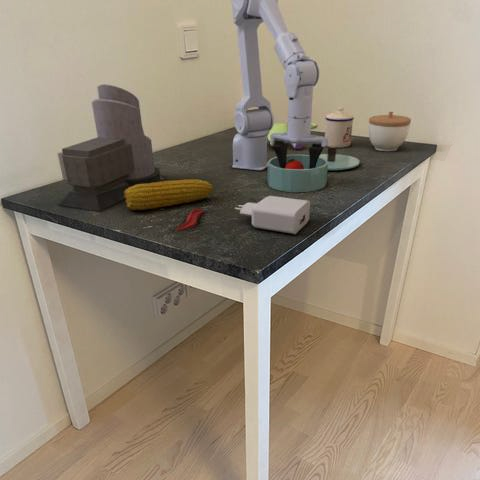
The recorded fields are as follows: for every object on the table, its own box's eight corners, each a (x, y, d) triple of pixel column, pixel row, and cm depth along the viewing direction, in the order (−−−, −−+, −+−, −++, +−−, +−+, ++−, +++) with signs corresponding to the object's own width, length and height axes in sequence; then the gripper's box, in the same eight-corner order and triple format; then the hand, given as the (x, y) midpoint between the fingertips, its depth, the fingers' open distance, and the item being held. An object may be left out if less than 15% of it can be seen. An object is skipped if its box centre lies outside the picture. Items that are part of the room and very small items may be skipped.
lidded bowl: (411, 146, 156) (417, 110, 150) (399, 155, 147) (405, 116, 142) (373, 142, 162) (377, 107, 156) (360, 150, 153) (364, 113, 147)
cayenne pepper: (183, 232, 99) (182, 223, 98) (166, 228, 101) (165, 219, 100) (216, 214, 107) (216, 206, 106) (199, 211, 109) (199, 203, 108)
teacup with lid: (347, 149, 155) (351, 110, 149) (320, 147, 158) (322, 109, 152) (355, 141, 165) (359, 104, 158) (329, 139, 168) (332, 103, 161)
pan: (258, 188, 122) (258, 166, 119) (280, 172, 134) (280, 152, 131) (315, 195, 117) (317, 172, 114) (333, 178, 128) (335, 157, 125)
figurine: (319, 136, 172) (321, 119, 169) (300, 153, 151) (301, 135, 148) (271, 133, 178) (271, 117, 175) (245, 150, 157) (245, 132, 154)
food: (131, 216, 107) (127, 190, 104) (124, 209, 111) (120, 183, 108) (216, 200, 115) (215, 175, 112) (207, 194, 119) (205, 169, 116)
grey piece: (126, 171, 138) (112, 77, 125) (174, 177, 132) (165, 78, 119) (53, 204, 115) (26, 92, 102) (107, 212, 109) (86, 95, 96)
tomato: (284, 185, 124) (278, 164, 122) (291, 181, 128) (285, 160, 126) (302, 180, 121) (296, 158, 120) (309, 176, 125) (303, 154, 124)
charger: (246, 211, 108) (309, 220, 102) (227, 225, 101) (293, 236, 95) (246, 190, 106) (310, 199, 100) (226, 203, 99) (294, 213, 93)
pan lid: (295, 168, 137) (296, 150, 134) (313, 155, 149) (314, 138, 146) (351, 174, 131) (353, 155, 128) (365, 160, 143) (367, 142, 140)
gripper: (265, 117, 116) (265, 174, 123) (323, 121, 111) (319, 180, 118) (276, 113, 121) (275, 167, 129) (332, 116, 116) (327, 172, 123)
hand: (297, 173), depth 124 cm, fingers open, 7 cm apart
